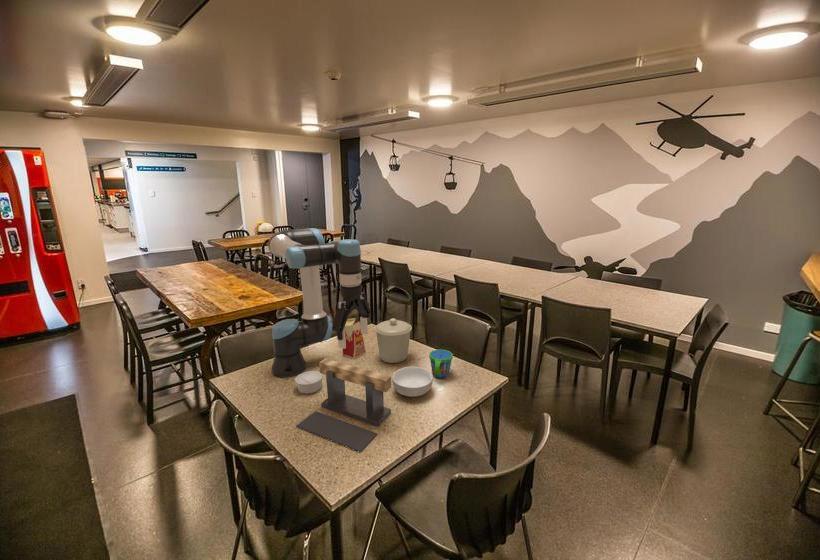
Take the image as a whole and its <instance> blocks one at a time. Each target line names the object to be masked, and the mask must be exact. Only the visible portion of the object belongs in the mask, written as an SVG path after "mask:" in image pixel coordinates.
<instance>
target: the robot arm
mask: <svg viewBox="0 0 820 560" xmlns="http://www.w3.org/2000/svg"><path fill="white" fill-rule="evenodd" d="M267 247H268V250H269V252H270V253H271V254H272V255H273V256H275V257H277V258H283V259H285V263H286V264H287V267H288V268H289V269H299V273H300V283H301V293H302V294H301V295H302V302H303V314H302V315H301V320H298V319H296V318H286V319H282V320H280V321H278V322H276V323H275V324H274V325H273V326H272V328H271V338H272V343H273V353H274V358H273V363H272V365H271V373H272V374H273V376H276V377H278V378H279V377H280V378H290V377H294V376H298V375H299V374H301V373H304V372H305V370H306V369H307V364H306V363H307V362H306V361H305V358H304V355H303V354H302V351H301V350H302V349H301V347H304V346H310V345H314V344H317V343H323V342H326V341H328V340H329V339H330V338H331V336H332V333H333V332H336V339H337V344H338V345H337V346H338V348H339V349H343V348H344V349H345V348H346V339H345V330H344V327H345V324H346V322H347V319H349V316H350V314H352V312H353V311H354V310H356V311H357V312H358V314H359V315H360V317H359V319H360V320H359V322H360V328H361V334H362V335H366V336H367V335H368V334H369V332H368V328H369V327H368V319H369V318H370V317H371V314H372V311H371V308H370V306H369V304H368V300H367V298H366V292H363V285H362V284H361V283H362V254H361V253H362V251H361V250H362V249H361V243H360V241H359V240H358V239H353V238H352V239H351V238H350V239H340V240H336V241H334V240H333V241H329V242H328V243H325V239H324V236H323V233H322V232H321V231H320V229H318V228H313V227H311V228H310V227H307V228H305V227H304V228H295V229H284V230H280V231H277V232H276V233H274V234H273V235H271V237H270V238H269V239H268V245H267ZM332 264H333V265H334V264H336V265H337V264H338V268H339V269H338V270H339V272H338V273H339V274H338V275H339V284H340V286H339V289H340V290H339V291H340V296H341V297H342V301H337V302H336V310H335V315H334V318H333V323H332V318H331V317H330V316H329V315H327V312H325V311H324V308H323V307H324V306H323V298H322V297H323V296H322V295H323V294H322V287H321V285H322V284H321V275H320V266H326V265H332Z"/></svg>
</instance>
